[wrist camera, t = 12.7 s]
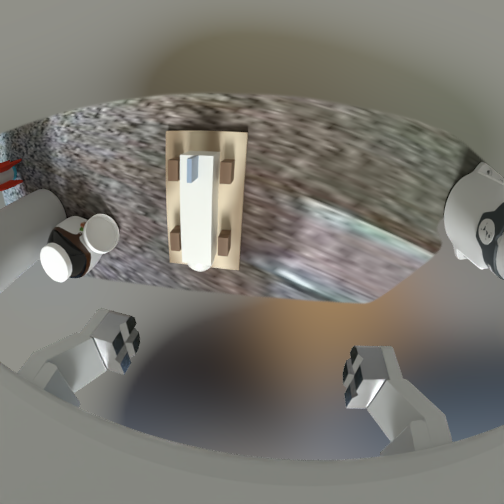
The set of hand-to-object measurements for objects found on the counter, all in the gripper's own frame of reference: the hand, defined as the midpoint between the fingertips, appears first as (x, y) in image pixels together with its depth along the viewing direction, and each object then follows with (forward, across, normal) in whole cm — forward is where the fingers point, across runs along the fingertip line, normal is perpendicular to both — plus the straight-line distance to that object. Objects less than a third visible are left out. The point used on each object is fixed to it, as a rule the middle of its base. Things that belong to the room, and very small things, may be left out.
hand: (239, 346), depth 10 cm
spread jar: (+33, +32, +13) cm, 48 cm away
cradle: (+33, +10, +6) cm, 35 cm away
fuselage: (+32, +10, +7) cm, 35 cm away
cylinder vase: (+32, +46, +10) cm, 57 cm away
